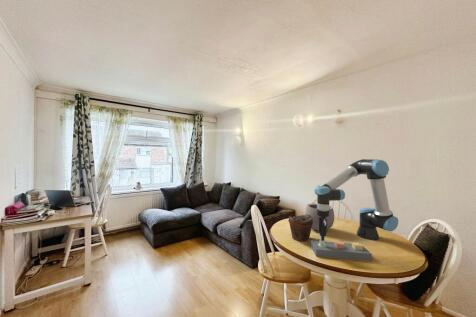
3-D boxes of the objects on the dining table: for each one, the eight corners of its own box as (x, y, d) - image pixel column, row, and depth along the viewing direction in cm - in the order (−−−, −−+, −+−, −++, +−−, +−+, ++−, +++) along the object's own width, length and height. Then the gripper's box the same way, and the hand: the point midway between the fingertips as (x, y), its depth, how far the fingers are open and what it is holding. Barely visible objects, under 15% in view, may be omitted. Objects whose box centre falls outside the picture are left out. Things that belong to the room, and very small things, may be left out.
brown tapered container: (283, 238, 158) (283, 215, 157) (296, 231, 172) (296, 210, 171) (304, 245, 145) (305, 220, 145) (316, 238, 159) (317, 215, 159)
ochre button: (359, 248, 135) (359, 242, 135) (362, 251, 130) (362, 245, 130) (351, 247, 136) (351, 242, 136) (354, 250, 131) (354, 245, 131)
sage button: (324, 248, 138) (324, 243, 138) (326, 252, 133) (326, 246, 133) (317, 248, 139) (317, 243, 139) (319, 251, 134) (319, 246, 134)
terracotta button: (341, 246, 136) (342, 241, 136) (344, 249, 132) (344, 244, 132) (334, 246, 137) (334, 240, 137) (336, 249, 132) (336, 243, 132)
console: (360, 250, 139) (361, 244, 139) (371, 261, 125) (371, 253, 125) (311, 246, 144) (311, 240, 144) (315, 256, 130) (316, 249, 130)
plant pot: (304, 232, 171) (305, 197, 170) (304, 223, 193) (305, 192, 193) (335, 236, 163) (337, 199, 163) (332, 227, 186) (333, 194, 186)
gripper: (314, 207, 143) (313, 240, 143) (319, 212, 130) (318, 248, 130) (326, 207, 142) (325, 241, 142) (332, 212, 129) (330, 249, 129)
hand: (322, 244), depth 136 cm, fingers closed
